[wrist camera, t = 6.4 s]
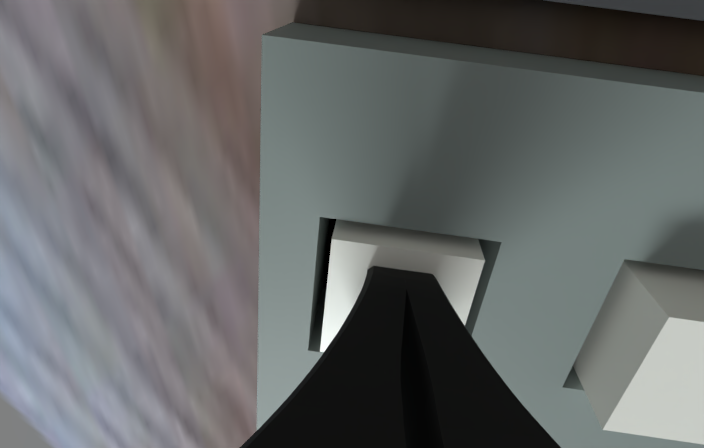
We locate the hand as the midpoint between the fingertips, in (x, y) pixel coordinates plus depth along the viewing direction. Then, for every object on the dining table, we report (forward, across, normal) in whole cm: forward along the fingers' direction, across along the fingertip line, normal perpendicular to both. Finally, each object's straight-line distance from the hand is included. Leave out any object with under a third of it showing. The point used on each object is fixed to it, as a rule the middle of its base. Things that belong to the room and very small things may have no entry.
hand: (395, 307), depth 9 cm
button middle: (+1, -6, 0) cm, 6 cm away
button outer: (+2, 0, 0) cm, 2 cm away
